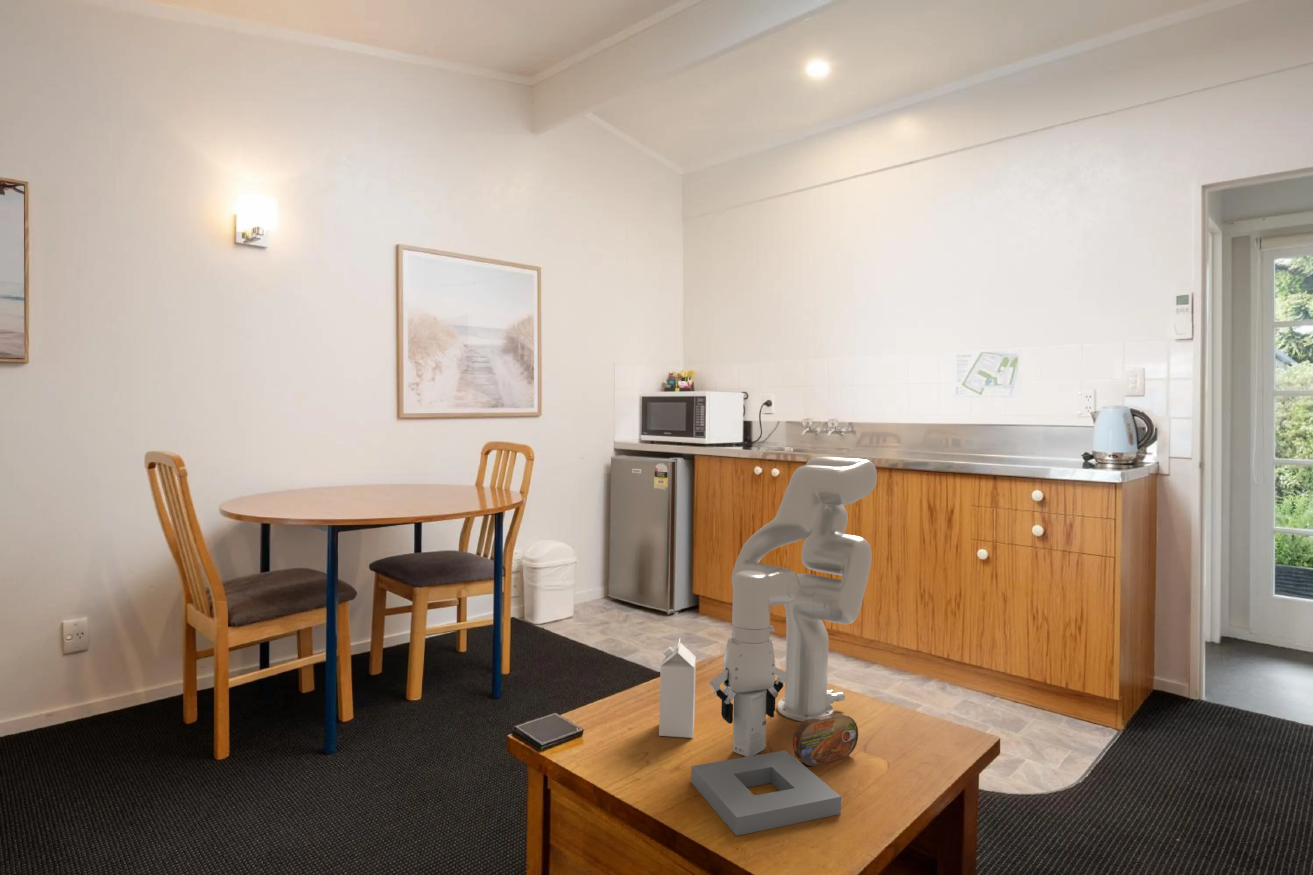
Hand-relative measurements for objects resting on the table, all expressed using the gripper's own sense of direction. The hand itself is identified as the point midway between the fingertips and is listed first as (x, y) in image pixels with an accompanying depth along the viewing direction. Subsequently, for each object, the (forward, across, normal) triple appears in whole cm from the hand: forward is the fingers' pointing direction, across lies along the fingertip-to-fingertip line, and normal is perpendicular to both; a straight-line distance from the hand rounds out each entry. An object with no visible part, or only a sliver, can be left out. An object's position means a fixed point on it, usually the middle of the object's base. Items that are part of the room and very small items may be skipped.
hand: (748, 717), depth 146 cm
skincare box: (+7, 0, 0) cm, 7 cm away
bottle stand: (+7, +6, +17) cm, 19 cm away
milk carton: (+7, +10, -13) cm, 18 cm away
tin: (+7, -13, +8) cm, 17 cm away
